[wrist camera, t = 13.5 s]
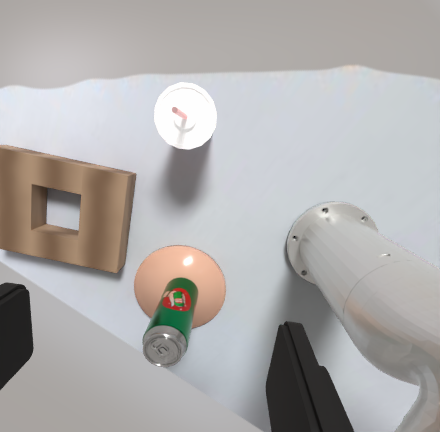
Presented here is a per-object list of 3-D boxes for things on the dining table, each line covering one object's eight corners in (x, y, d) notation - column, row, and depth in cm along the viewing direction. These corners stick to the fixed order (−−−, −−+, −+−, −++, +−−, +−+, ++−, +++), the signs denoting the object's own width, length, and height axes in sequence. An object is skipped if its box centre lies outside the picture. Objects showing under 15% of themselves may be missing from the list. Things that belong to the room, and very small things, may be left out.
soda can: (181, 310, 40) (161, 377, 28) (159, 288, 39) (129, 348, 27) (205, 292, 39) (195, 354, 27) (183, 269, 38) (163, 322, 26)
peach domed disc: (234, 256, 38) (234, 258, 37) (215, 333, 42) (215, 336, 41) (142, 236, 38) (140, 238, 37) (131, 315, 41) (129, 319, 41)
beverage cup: (217, 96, 32) (209, 60, 19) (222, 146, 34) (218, 146, 21) (169, 102, 33) (128, 71, 19) (177, 151, 34) (143, 154, 21)
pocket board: (136, 173, 35) (127, 175, 32) (125, 263, 39) (116, 273, 36) (6, 145, 35) (-14, 144, 32) (7, 239, 39) (-11, 246, 36)
